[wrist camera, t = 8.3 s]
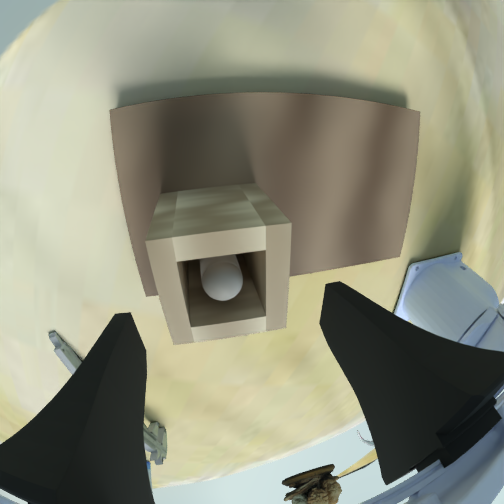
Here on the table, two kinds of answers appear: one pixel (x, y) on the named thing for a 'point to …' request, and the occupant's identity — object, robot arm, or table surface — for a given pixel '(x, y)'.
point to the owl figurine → (314, 486)
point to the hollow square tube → (219, 244)
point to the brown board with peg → (274, 172)
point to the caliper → (153, 434)
